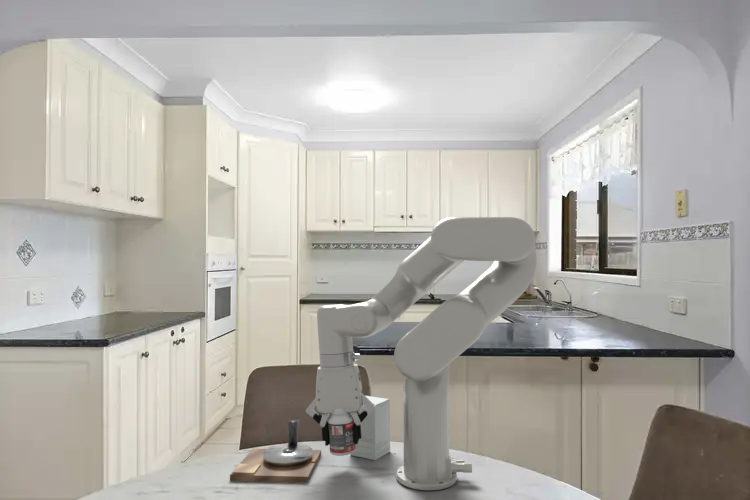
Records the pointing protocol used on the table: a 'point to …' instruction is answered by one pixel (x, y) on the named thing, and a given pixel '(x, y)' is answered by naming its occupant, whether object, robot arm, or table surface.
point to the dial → (288, 449)
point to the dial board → (273, 469)
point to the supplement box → (374, 430)
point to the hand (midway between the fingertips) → (342, 442)
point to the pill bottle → (341, 433)
